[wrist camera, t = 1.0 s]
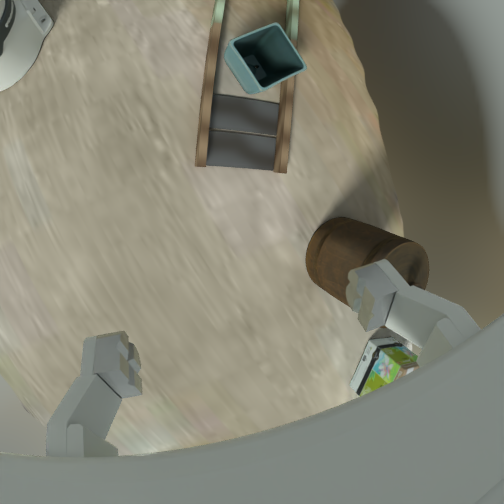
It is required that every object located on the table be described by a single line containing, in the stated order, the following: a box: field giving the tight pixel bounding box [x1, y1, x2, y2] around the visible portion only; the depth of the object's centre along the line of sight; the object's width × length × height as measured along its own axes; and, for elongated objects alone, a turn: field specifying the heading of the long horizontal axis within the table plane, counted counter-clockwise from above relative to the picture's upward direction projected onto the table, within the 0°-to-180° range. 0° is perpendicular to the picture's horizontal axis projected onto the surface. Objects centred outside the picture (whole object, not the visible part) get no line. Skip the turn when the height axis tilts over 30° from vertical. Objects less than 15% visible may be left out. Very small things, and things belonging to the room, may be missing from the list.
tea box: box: [350, 337, 420, 396], centre depth 67 cm, size 15×10×15 cm
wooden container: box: [306, 217, 429, 328], centre depth 49 cm, size 15×15×22 cm
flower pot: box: [224, 22, 307, 94], centre depth 39 cm, size 9×9×9 cm
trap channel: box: [195, 0, 299, 173], centre depth 41 cm, size 36×14×4 cm, turn 175°
